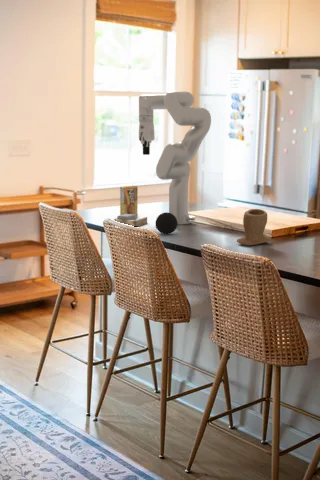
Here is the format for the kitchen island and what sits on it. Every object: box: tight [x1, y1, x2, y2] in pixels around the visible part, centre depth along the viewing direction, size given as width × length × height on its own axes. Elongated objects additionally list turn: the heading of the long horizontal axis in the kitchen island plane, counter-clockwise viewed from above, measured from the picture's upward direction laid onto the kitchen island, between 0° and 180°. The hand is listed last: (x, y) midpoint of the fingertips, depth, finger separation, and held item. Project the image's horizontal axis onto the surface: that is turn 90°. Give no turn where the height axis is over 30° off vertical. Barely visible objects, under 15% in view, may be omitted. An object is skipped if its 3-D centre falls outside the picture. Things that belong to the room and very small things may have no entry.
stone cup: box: [236, 208, 272, 246], centre depth 305 cm, size 15×12×15 cm
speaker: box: [155, 212, 178, 235], centre depth 328 cm, size 10×10×10 cm
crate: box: [116, 214, 137, 220], centre depth 355 cm, size 6×8×5 cm
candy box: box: [119, 185, 138, 216], centre depth 382 cm, size 9×4×15 cm, turn 129°
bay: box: [113, 216, 148, 227], centre depth 355 cm, size 12×12×3 cm
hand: (146, 154), depth 376 cm, fingers closed
